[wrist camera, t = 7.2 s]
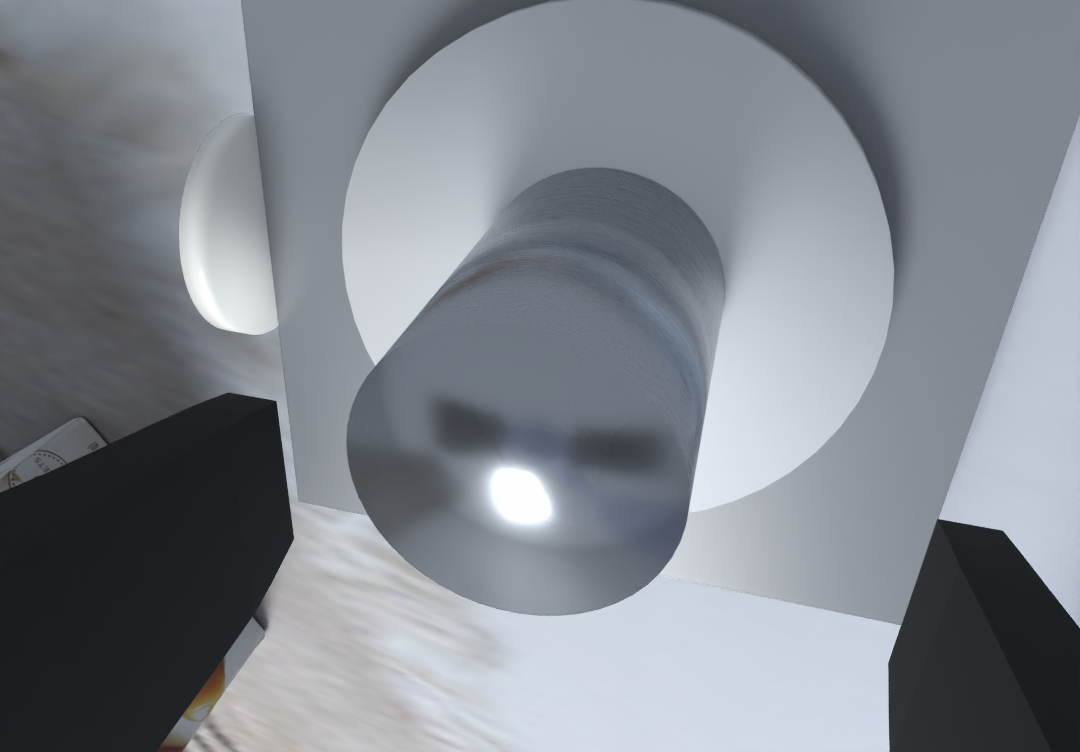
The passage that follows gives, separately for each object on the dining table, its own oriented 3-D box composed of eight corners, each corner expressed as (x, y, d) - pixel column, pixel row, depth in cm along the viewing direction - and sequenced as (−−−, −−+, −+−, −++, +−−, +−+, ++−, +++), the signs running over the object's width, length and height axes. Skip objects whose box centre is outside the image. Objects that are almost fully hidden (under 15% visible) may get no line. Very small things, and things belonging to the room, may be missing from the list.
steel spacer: (699, 414, 17) (656, 650, 12) (476, 366, 18) (348, 570, 13) (749, 192, 15) (723, 367, 10) (492, 147, 16) (344, 289, 10)
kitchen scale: (891, 549, 21) (911, 702, 18) (314, 438, 24) (222, 551, 20) (1108, -126, 14) (1221, -115, 10) (254, -173, 17) (93, -179, 13)
